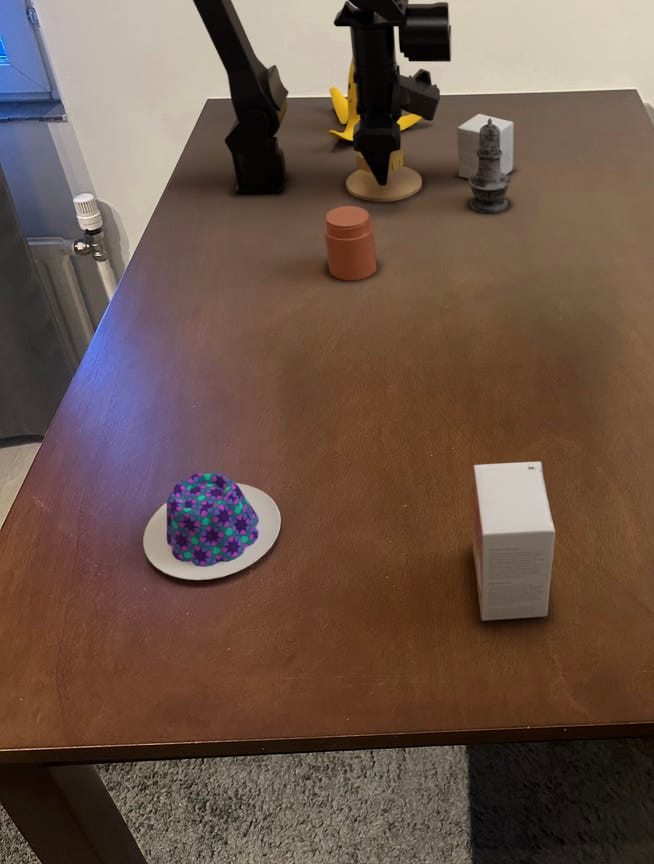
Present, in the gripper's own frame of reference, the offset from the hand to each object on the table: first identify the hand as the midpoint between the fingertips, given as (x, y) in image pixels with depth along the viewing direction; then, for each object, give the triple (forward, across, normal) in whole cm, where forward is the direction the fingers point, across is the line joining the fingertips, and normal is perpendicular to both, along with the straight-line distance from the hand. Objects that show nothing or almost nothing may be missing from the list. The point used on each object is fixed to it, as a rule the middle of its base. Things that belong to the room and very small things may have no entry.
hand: (383, 174), depth 129 cm
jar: (+2, -24, +3) cm, 24 cm away
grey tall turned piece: (+2, -7, -15) cm, 17 cm away
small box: (+2, -77, -13) cm, 78 cm away
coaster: (+2, 0, 0) cm, 2 cm away
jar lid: (-3, 0, 0) cm, 3 cm away
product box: (+2, +3, -15) cm, 15 cm away
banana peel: (+2, +21, +1) cm, 21 cm away
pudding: (+2, -70, +13) cm, 71 cm away
